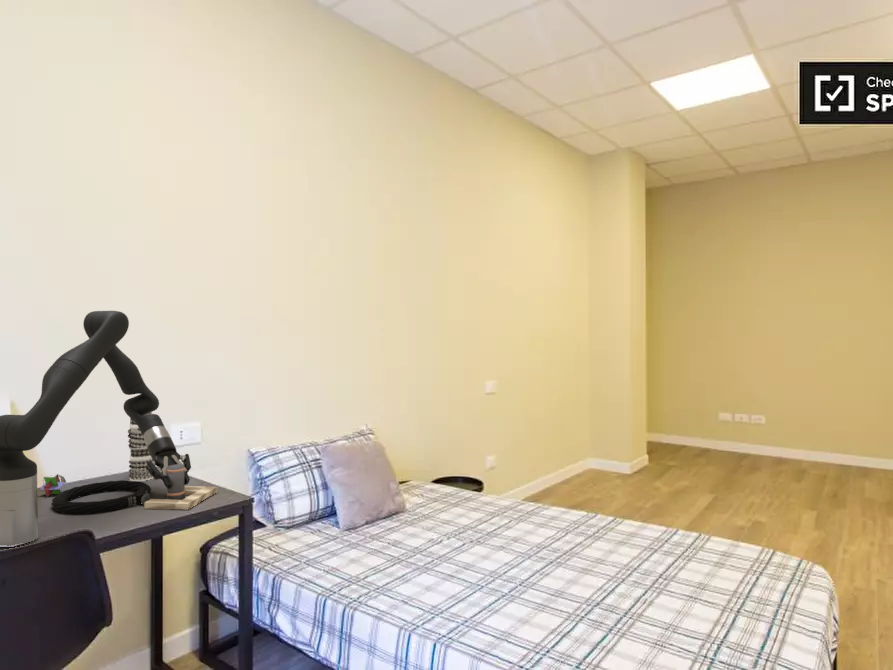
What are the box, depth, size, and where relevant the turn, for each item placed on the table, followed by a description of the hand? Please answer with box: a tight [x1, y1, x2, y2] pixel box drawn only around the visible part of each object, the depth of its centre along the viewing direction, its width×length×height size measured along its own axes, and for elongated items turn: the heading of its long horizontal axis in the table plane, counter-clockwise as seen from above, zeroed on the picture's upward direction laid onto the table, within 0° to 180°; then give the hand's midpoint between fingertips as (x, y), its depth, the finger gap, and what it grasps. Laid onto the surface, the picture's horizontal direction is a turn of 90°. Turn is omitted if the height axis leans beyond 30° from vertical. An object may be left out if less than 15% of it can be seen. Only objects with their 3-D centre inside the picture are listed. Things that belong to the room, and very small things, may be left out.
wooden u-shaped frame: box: [143, 485, 218, 511], centre depth 183 cm, size 18×14×2 cm
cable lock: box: [50, 479, 152, 515], centre depth 182 cm, size 28×4×30 cm
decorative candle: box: [127, 411, 154, 482], centre depth 209 cm, size 9×9×25 cm
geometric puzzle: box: [37, 473, 67, 498], centre depth 188 cm, size 7×7×8 cm
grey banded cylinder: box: [166, 463, 186, 500], centre depth 182 cm, size 5×5×10 cm
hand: (179, 485), depth 181 cm, fingers closed on grey banded cylinder, 5 cm apart
